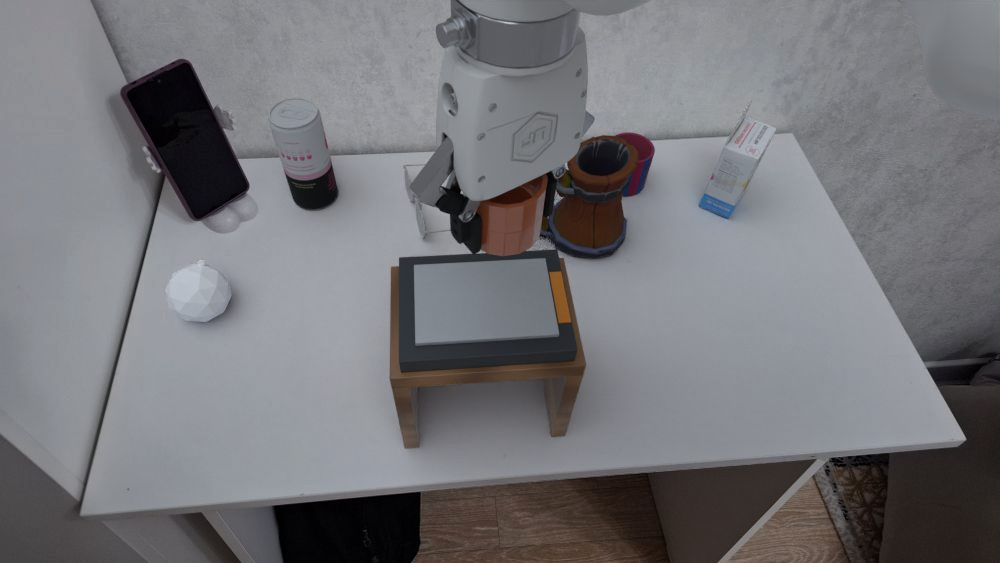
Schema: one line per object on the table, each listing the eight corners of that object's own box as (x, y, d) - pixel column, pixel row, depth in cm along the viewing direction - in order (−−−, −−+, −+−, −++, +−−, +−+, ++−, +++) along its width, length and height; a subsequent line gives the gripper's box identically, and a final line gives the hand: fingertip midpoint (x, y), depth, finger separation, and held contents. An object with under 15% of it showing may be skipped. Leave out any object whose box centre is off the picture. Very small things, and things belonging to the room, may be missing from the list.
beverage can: (303, 177, 93) (279, 92, 81) (345, 184, 93) (326, 100, 81) (286, 207, 89) (257, 123, 77) (329, 215, 89) (307, 132, 77)
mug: (504, 266, 84) (510, 186, 72) (497, 205, 91) (501, 123, 79) (633, 260, 86) (659, 181, 74) (616, 201, 93) (638, 120, 81)
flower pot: (555, 238, 51) (564, 186, 47) (492, 272, 49) (495, 220, 44) (510, 193, 54) (514, 139, 50) (449, 222, 52) (447, 168, 47)
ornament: (165, 307, 78) (170, 247, 76) (229, 311, 81) (235, 254, 79) (159, 330, 72) (164, 265, 70) (228, 334, 75) (235, 272, 73)
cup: (648, 196, 94) (659, 162, 88) (583, 197, 93) (590, 163, 88) (639, 166, 98) (649, 131, 92) (577, 167, 97) (583, 132, 92)
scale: (555, 261, 64) (557, 245, 62) (574, 361, 57) (578, 347, 55) (400, 269, 63) (398, 253, 61) (400, 373, 56) (398, 359, 54)
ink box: (729, 221, 91) (767, 142, 79) (697, 207, 93) (730, 128, 81) (748, 188, 96) (787, 109, 84) (717, 175, 97) (751, 95, 85)
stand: (548, 338, 77) (563, 257, 65) (565, 436, 70) (586, 365, 57) (404, 347, 76) (390, 266, 63) (404, 448, 68) (389, 378, 55)
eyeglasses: (402, 180, 94) (402, 159, 91) (453, 173, 96) (455, 153, 93) (424, 247, 86) (424, 227, 83) (479, 238, 88) (481, 219, 85)
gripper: (423, 99, 32) (437, 302, 46) (664, 7, 38) (611, 209, 52) (355, 31, 35) (388, 238, 50) (586, -43, 42) (556, 159, 56)
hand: (503, 222), depth 51 cm, fingers closed on flower pot, 6 cm apart
